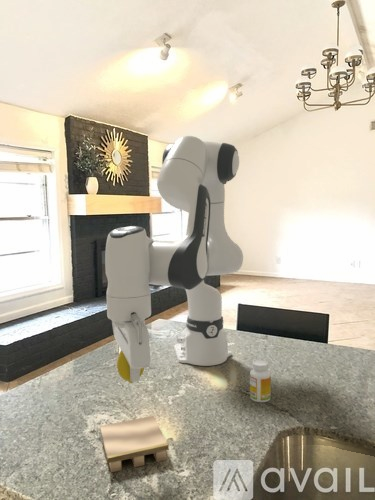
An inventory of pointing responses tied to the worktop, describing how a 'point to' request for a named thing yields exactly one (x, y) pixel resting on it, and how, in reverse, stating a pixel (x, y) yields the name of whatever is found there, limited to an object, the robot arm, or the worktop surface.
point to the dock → (133, 441)
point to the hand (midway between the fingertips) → (131, 373)
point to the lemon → (124, 367)
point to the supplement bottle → (260, 381)
